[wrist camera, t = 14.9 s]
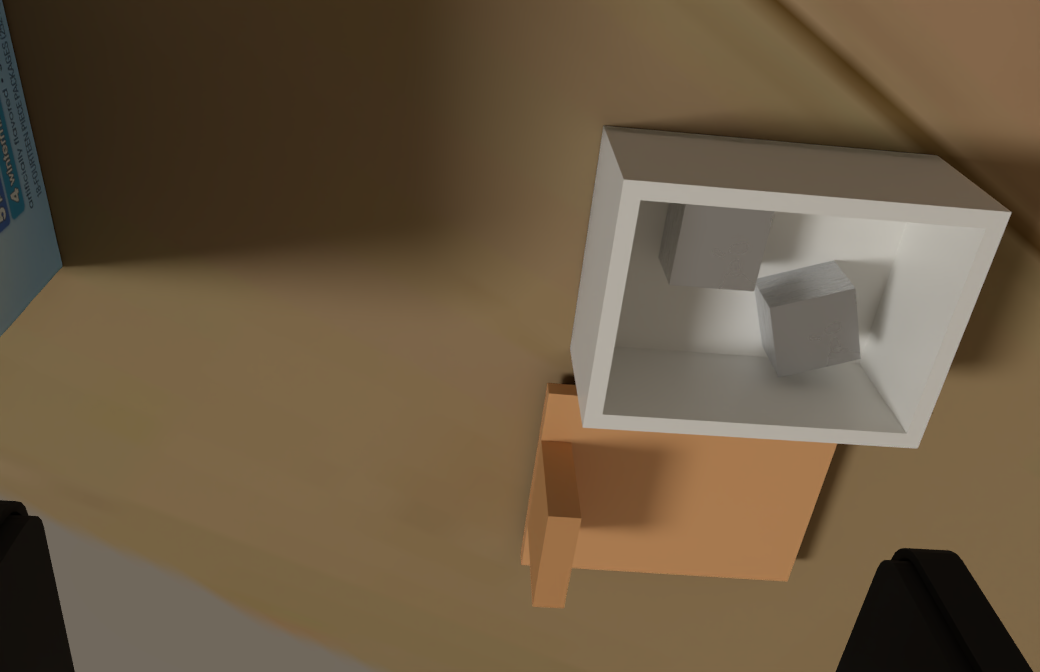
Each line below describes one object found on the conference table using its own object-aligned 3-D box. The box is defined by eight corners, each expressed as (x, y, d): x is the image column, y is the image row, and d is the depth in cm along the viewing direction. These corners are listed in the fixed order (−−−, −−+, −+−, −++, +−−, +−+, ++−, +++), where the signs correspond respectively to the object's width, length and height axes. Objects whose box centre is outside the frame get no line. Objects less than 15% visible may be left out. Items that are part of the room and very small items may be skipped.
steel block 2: (752, 279, 45) (769, 308, 42) (833, 260, 45) (855, 288, 42) (762, 346, 47) (778, 377, 44) (839, 328, 47) (860, 359, 44)
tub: (603, 125, 42) (623, 179, 36) (937, 155, 43) (1011, 212, 37) (570, 349, 48) (582, 427, 41) (863, 369, 49) (917, 448, 43)
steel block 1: (673, 179, 42) (685, 203, 40) (757, 186, 42) (774, 211, 40) (658, 257, 44) (669, 284, 42) (738, 263, 44) (754, 291, 42)
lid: (546, 370, 49) (557, 466, 41) (833, 394, 50) (890, 490, 43) (520, 538, 55) (525, 647, 47) (777, 555, 56) (819, 663, 49)
